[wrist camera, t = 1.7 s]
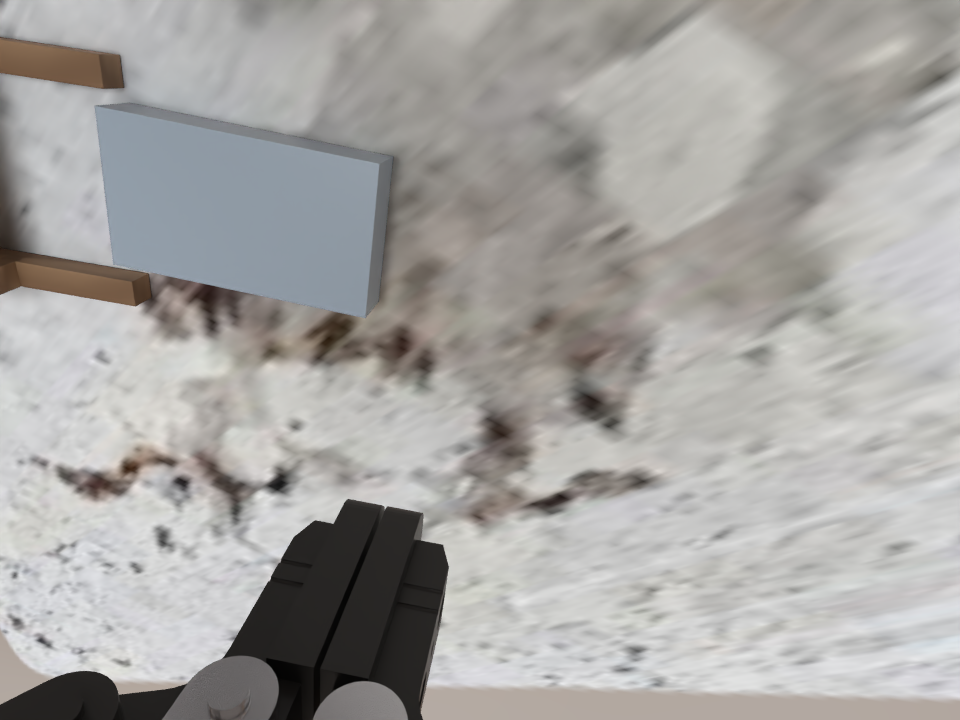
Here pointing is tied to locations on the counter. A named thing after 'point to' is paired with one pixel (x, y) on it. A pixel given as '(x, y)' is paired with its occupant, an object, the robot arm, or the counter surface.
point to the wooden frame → (50, 273)
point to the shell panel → (244, 207)
